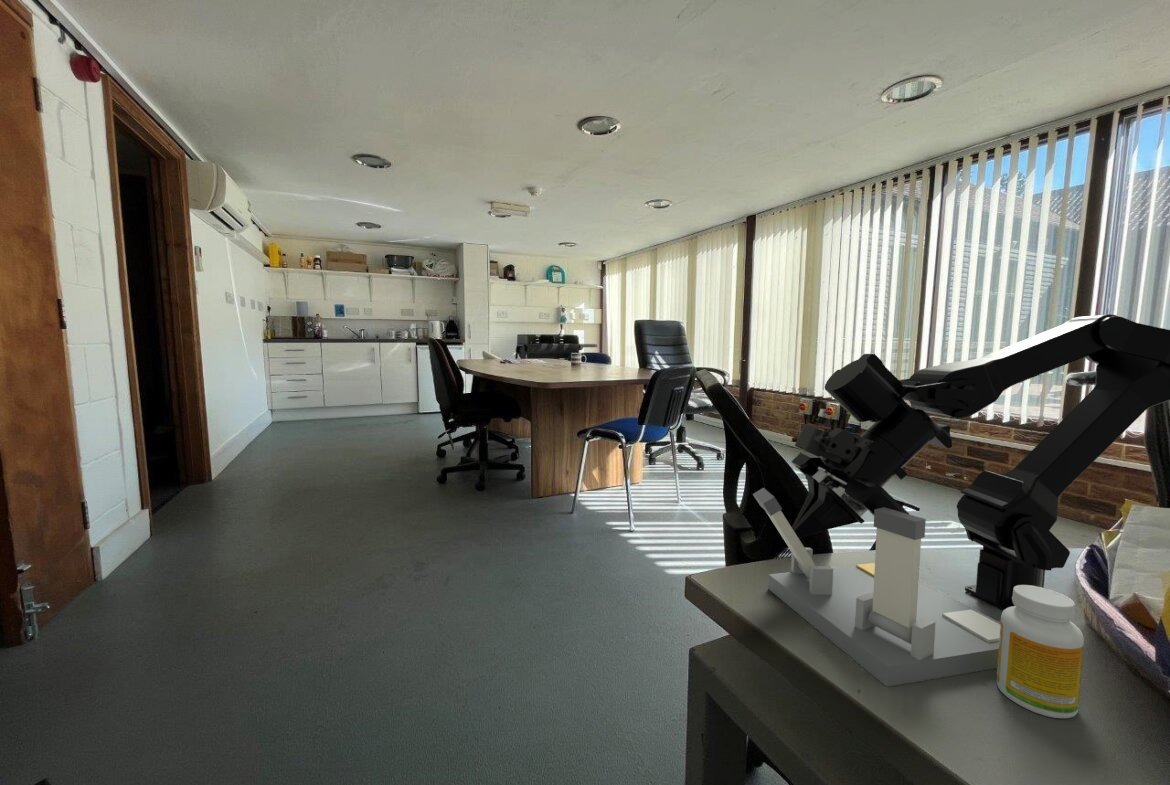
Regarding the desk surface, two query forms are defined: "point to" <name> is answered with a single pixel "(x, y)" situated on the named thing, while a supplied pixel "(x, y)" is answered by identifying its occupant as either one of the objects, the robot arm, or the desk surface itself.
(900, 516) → the switch
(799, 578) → the grey base plate
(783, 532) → the switch
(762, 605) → the desk surface
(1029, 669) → the supplement bottle
